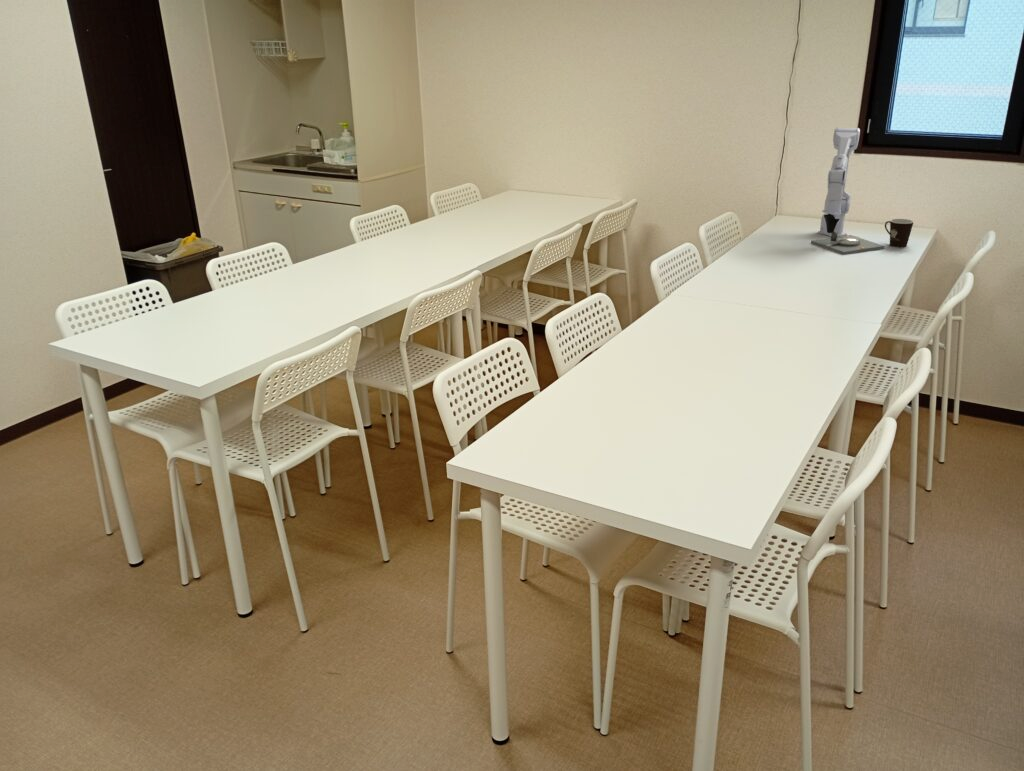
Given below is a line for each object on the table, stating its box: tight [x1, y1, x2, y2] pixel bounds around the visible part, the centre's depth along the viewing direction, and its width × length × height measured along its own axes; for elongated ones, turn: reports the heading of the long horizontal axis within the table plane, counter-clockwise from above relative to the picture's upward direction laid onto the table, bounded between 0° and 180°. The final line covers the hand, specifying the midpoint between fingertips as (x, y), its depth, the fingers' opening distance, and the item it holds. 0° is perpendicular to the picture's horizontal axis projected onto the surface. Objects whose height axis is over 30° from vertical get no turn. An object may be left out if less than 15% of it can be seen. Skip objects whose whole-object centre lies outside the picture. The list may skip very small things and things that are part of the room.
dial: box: [830, 232, 862, 246], centre depth 339 cm, size 13×10×5 cm
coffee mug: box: [884, 218, 915, 248], centre depth 338 cm, size 12×9×10 cm
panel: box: [810, 234, 885, 256], centre depth 340 cm, size 20×20×2 cm
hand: (830, 232), depth 341 cm, fingers closed
